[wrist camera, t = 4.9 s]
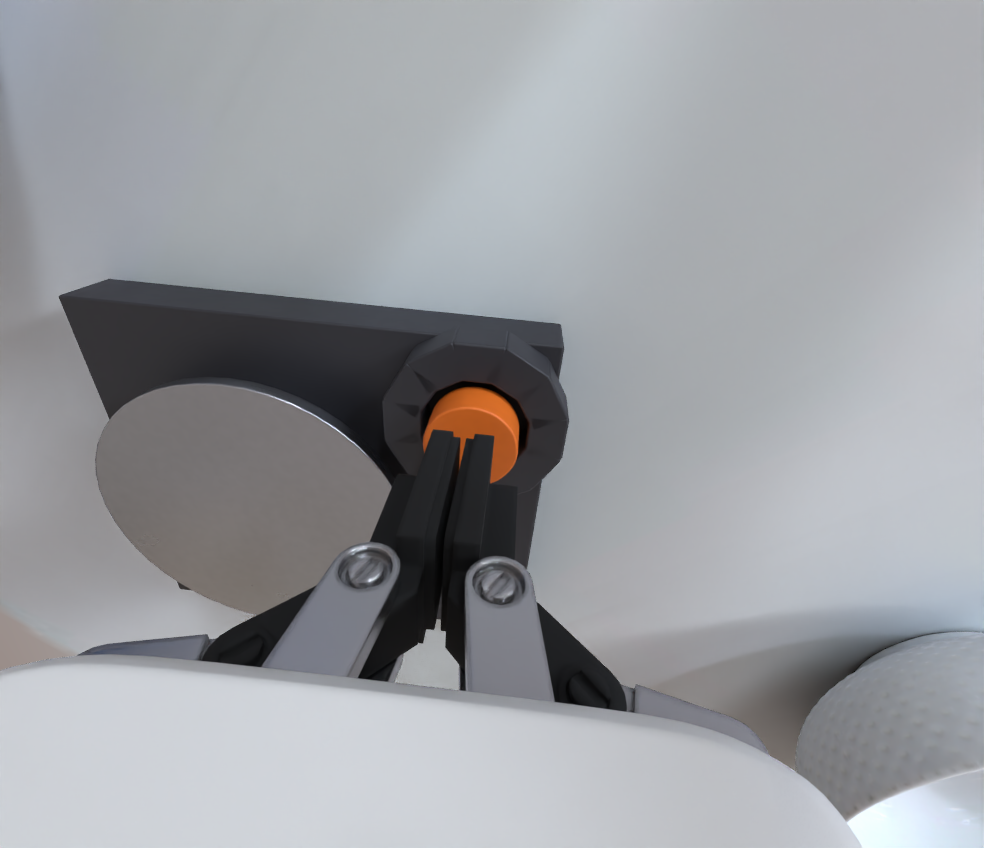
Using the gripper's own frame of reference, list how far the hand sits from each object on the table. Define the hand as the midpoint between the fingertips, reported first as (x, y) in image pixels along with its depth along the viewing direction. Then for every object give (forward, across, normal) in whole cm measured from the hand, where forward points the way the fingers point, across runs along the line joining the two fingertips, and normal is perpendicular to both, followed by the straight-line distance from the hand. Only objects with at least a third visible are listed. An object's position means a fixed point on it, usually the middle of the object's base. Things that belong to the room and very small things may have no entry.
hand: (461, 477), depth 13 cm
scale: (+6, +5, +4) cm, 9 cm away
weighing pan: (+2, +7, +4) cm, 9 cm away
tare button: (+2, 0, 0) cm, 2 cm away
